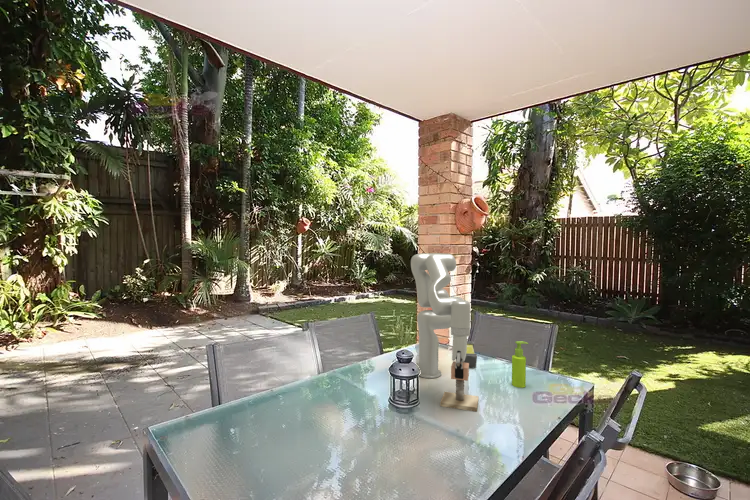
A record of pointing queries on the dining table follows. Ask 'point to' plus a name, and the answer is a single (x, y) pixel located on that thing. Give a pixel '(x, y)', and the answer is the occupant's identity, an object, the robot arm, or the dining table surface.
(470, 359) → the grey and yellow block
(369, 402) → the dining table surface
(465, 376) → the peach cube
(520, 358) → the soap dispenser
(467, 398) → the board
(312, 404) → the dining table surface
